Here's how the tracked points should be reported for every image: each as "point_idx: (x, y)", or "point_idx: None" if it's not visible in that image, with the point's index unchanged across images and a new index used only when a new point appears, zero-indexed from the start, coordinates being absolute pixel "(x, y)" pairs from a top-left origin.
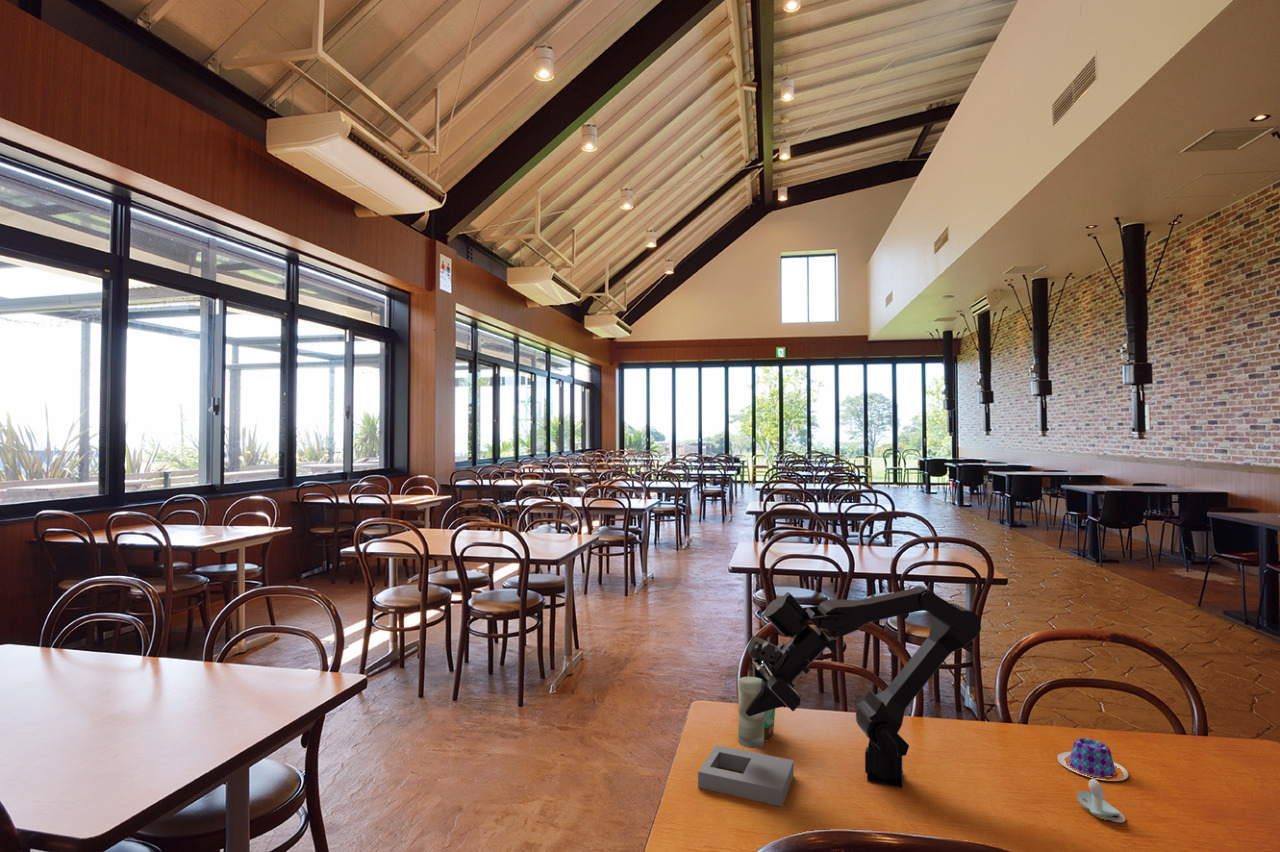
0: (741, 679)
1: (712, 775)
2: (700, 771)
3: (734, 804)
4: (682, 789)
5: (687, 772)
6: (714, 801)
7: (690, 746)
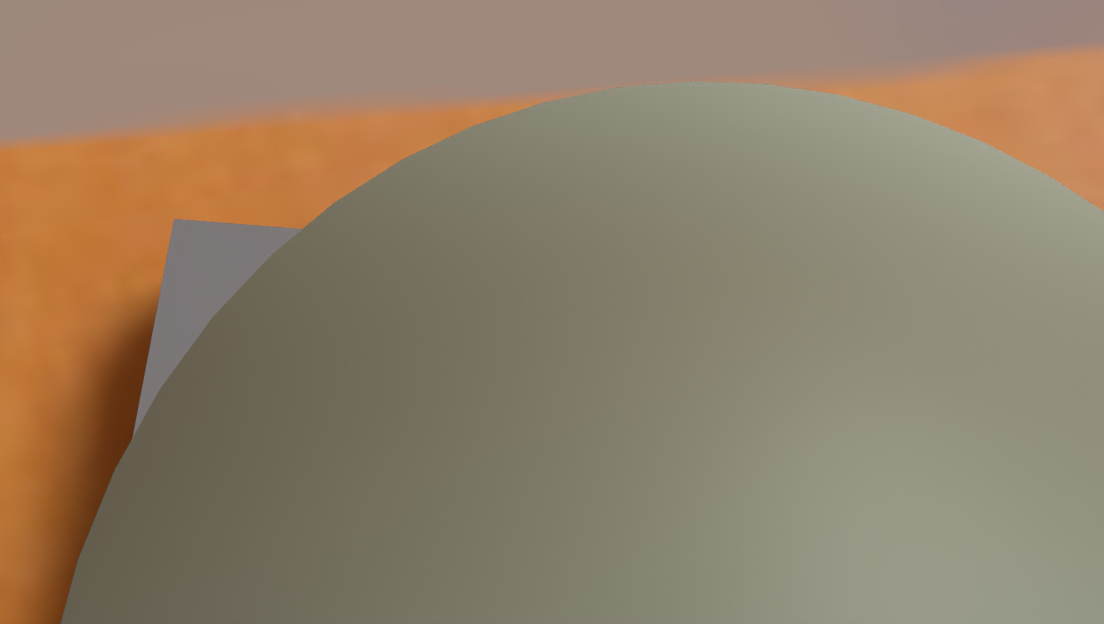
0: (777, 177)
1: (153, 352)
2: (180, 237)
3: (13, 614)
4: (148, 170)
5: (418, 149)
6: (24, 440)
7: (833, 84)
